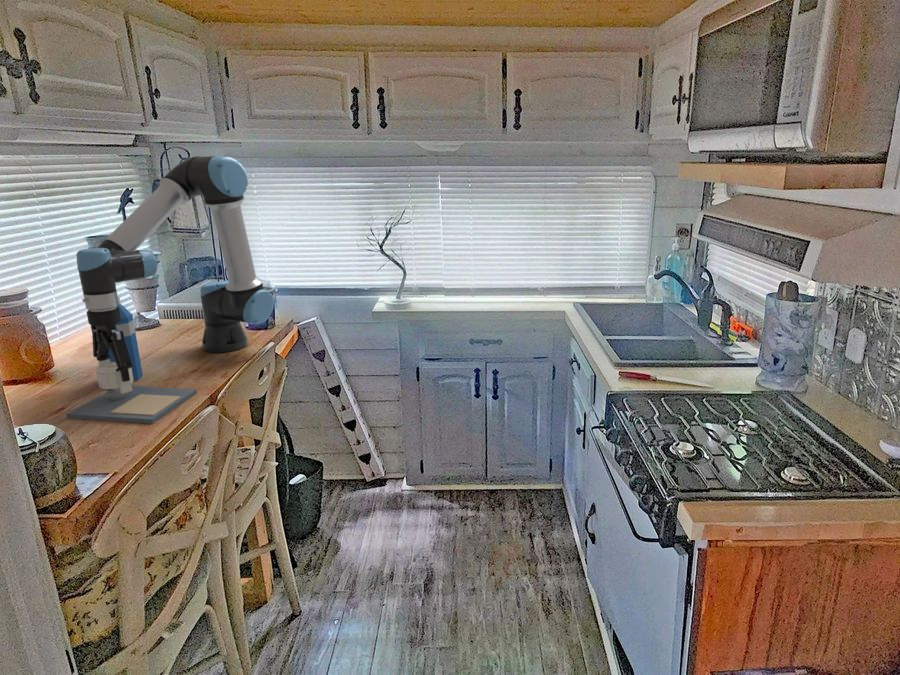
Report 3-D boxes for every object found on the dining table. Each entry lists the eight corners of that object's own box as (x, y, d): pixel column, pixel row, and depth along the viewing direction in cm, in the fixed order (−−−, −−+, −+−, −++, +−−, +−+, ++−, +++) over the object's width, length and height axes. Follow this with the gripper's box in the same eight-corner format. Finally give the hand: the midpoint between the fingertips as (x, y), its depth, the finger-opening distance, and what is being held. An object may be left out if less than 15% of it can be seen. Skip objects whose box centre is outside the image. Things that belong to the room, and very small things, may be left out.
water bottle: (143, 380, 174) (129, 299, 167) (107, 386, 169) (92, 303, 162) (141, 371, 182) (128, 293, 174) (107, 376, 177) (92, 296, 170)
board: (119, 389, 167) (114, 358, 165) (197, 393, 164) (192, 362, 162) (66, 418, 148) (59, 384, 146) (153, 423, 145) (147, 389, 143)
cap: (113, 377, 162) (109, 357, 160) (139, 378, 161) (136, 359, 159) (92, 388, 154) (88, 367, 153) (120, 389, 153) (116, 369, 152)
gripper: (69, 304, 155) (84, 381, 162) (106, 318, 142) (122, 401, 148) (99, 299, 161) (113, 374, 167) (138, 312, 147) (151, 392, 154)
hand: (117, 387), depth 158 cm, fingers open, 10 cm apart
